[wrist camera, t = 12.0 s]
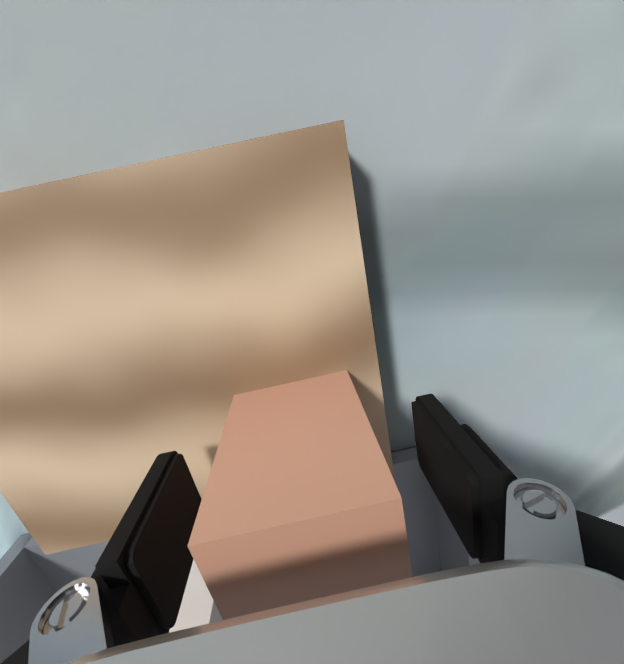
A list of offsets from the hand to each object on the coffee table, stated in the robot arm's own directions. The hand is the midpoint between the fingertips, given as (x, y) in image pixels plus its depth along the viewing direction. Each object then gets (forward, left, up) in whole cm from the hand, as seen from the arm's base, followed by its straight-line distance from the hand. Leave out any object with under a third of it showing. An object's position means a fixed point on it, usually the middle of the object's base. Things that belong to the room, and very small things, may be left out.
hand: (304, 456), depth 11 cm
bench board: (-4, -4, -3) cm, 7 cm away
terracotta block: (0, 0, -1) cm, 1 cm away
